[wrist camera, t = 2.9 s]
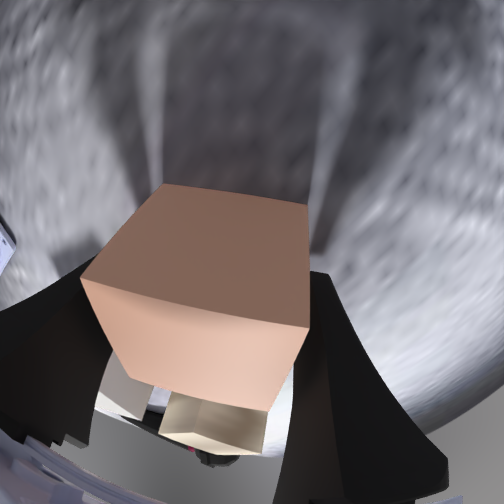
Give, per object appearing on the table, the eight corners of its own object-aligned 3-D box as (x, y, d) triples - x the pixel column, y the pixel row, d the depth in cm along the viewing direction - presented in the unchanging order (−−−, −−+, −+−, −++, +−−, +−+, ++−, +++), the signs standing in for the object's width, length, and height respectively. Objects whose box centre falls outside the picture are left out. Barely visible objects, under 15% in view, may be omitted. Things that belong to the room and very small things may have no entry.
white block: (76, 309, 16) (42, 366, 12) (121, 306, 14) (83, 378, 10) (117, 353, 18) (93, 406, 15) (165, 356, 17) (141, 420, 13)
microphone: (122, 387, 33) (252, 427, 26) (114, 421, 30) (242, 470, 23) (97, 378, 29) (237, 427, 22) (87, 415, 26) (225, 478, 19)
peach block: (173, 283, 12) (129, 377, 8) (163, 182, 9) (79, 277, 5) (281, 304, 12) (269, 411, 8) (307, 203, 9) (309, 328, 5)
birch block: (177, 375, 19) (158, 433, 15) (213, 359, 16) (193, 432, 12) (228, 400, 20) (216, 454, 16) (271, 388, 18) (261, 453, 14)
